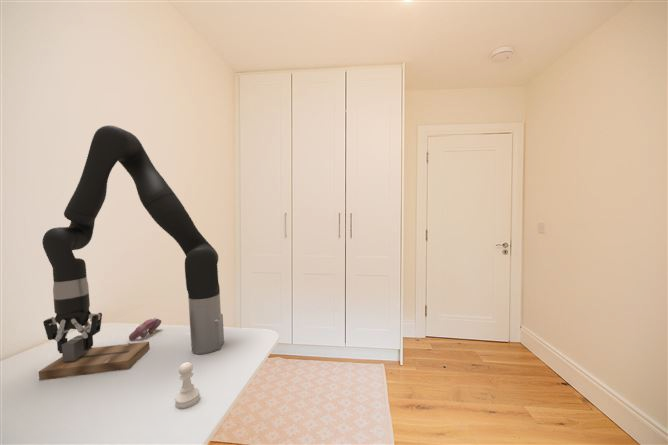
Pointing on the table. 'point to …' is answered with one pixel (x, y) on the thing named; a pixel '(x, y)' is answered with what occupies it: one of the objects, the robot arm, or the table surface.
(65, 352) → the fader cap
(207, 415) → the table surface
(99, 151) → the robot arm
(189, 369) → the chess pawn
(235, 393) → the table surface
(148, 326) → the video game controller
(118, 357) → the fader base
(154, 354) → the table surface
